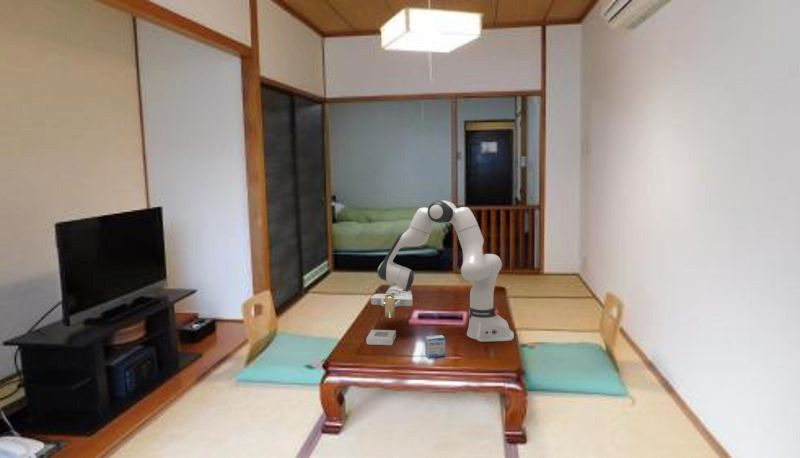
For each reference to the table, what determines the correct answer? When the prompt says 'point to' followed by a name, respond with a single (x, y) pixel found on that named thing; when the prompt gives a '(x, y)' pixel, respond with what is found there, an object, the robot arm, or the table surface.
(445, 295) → the table surface
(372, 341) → the aluminium jig
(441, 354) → the medicine box
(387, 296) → the brass bushing
